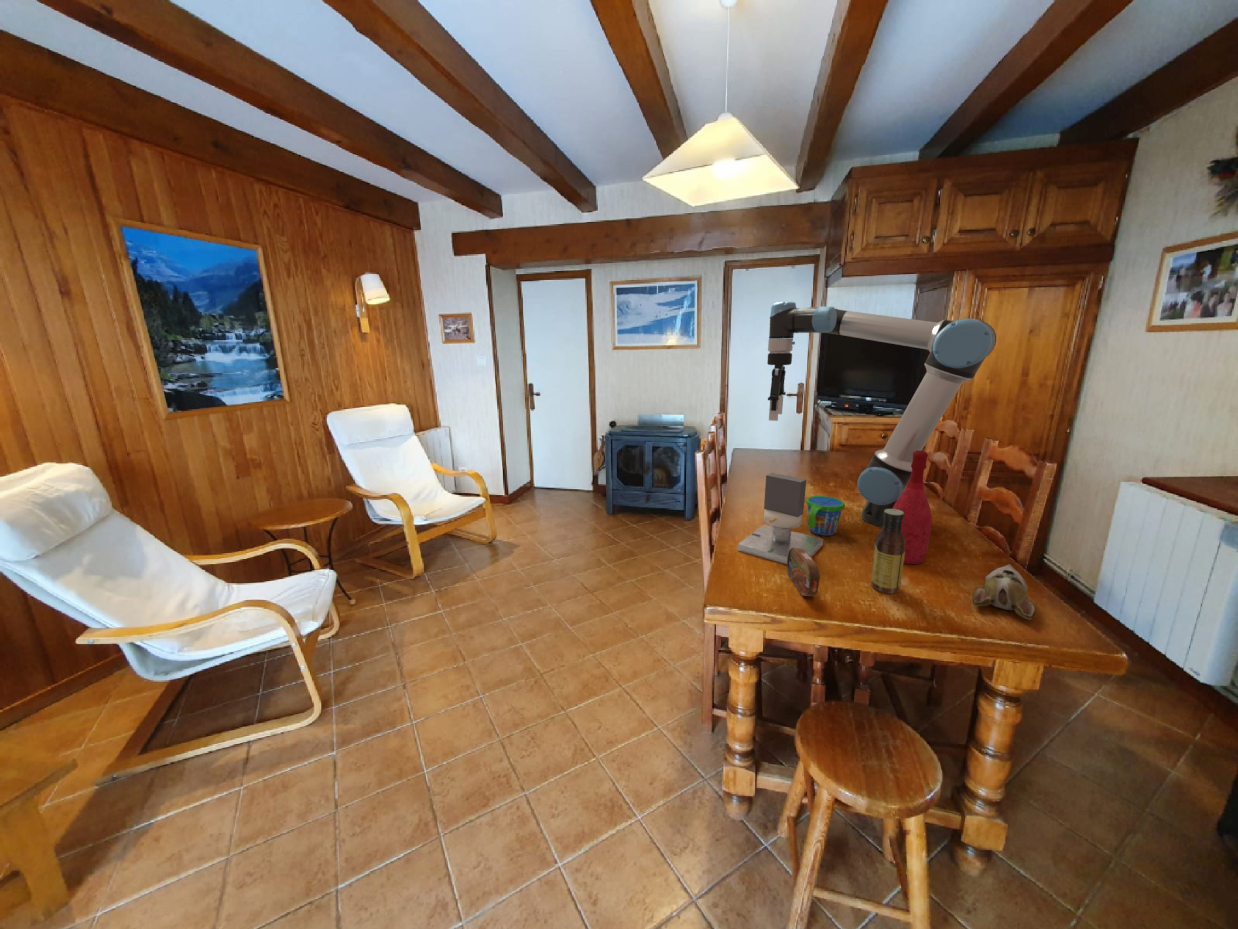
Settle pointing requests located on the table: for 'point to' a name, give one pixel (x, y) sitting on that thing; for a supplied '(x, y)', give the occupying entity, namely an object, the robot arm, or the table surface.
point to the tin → (803, 572)
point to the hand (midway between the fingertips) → (775, 417)
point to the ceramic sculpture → (1005, 592)
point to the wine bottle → (915, 512)
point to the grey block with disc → (784, 500)
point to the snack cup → (824, 514)
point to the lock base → (779, 549)
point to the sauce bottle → (889, 553)
